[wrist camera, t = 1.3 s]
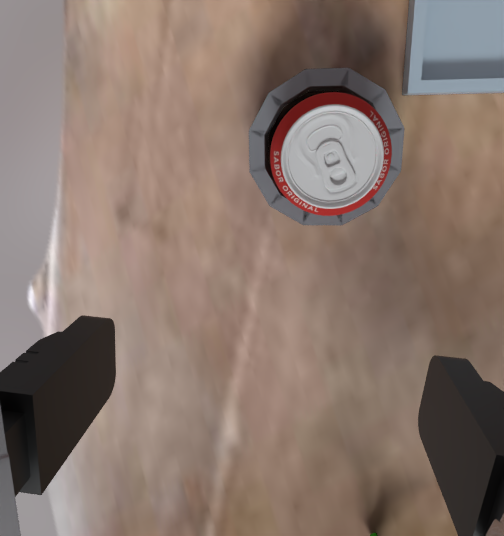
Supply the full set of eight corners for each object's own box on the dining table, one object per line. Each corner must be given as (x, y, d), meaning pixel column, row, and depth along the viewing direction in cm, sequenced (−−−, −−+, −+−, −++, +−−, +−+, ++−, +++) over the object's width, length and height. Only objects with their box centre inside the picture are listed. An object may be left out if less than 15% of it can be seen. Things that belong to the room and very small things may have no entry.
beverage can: (265, 124, 34) (247, 123, 22) (347, 87, 32) (372, 65, 21) (298, 203, 35) (296, 239, 24) (377, 170, 34) (415, 192, 22)
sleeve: (394, 74, 32) (409, 65, 27) (384, 213, 35) (396, 225, 30) (254, 78, 33) (247, 70, 28) (256, 212, 36) (250, 224, 31)
